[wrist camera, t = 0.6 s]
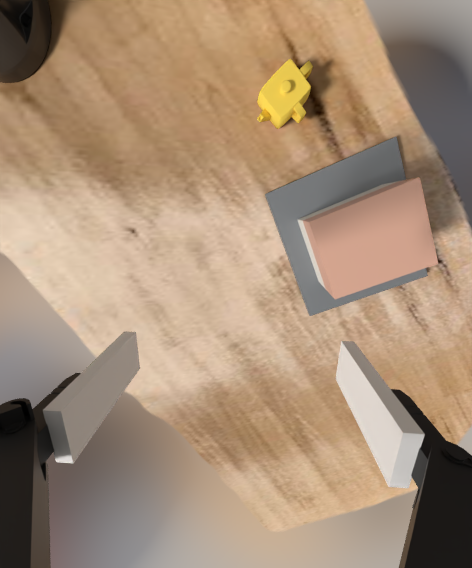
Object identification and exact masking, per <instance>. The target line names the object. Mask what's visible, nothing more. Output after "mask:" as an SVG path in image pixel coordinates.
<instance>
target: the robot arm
mask: <svg viewBox="0 0 472 568" xmlns="http://www.w3.org/2000/svg"><path fill="white" fill-rule="evenodd" d="M50 35H51V17H50V9H49V4H48V0H0V82H2V83H12V82H18V81H21V80H23V79H25V78H27V77H29V76H30V75H31V74H33V73H34V72H35V71H36V70H37V68H38V67H39V66H40V64H41V63H42V61H43V59H44V57H45V55H46V53H47V50H48V46H49V42H50ZM139 369H140V365H139V356H138V347H137V339H136V332H123V333H122V334H121V335H120V336H119V337H118V338H117V339H116V340H115V341H114V342H113V343H112V344H111V345H110V346H109V347H108V348H107V349H106V350H105V351H104V352H103V353H102V354H101V355H100V356H98V357H97V358H96V359H95V360H94V361H93V362H92V363H91V364H90V365H89V366H88V367H87V368H86V369H85V370H84V371H83V372H82V373H75V374H74V375H72V376H70V377H69V378H67V379H65V380H64V381H63V382H62V383H61V384H60V385H59V386H58V387H57V388H55V389H54V390H53V391H52V392H51V394H49V395H48V396H47V397H46V398H44V399H43V400H42V401H41V402H40V403H39V404H38V405H37V406H36V407H35V408H33V409H32V407H31V403H30V401H29V400H28V399H25V398H23V399H15V400H11V401H8V402H6V403H4V404H2V405H0V568H51V567H50V530H49V529H50V527H49V488H48V464H47V461H46V460H47V459H48V458H49V456H50V455H51V454H52V453H53V452H54V455H55V459H56V462H63V463H74V461H75V460H76V459H77V457H78V456H79V454H80V453H81V452H82V450H83V449H84V447H85V446H86V444H87V443H88V442H89V440H90V439H91V437H92V436H93V435H94V433H95V432H96V430H97V429H98V427H99V426H100V424H101V423H102V422H103V420H104V419H105V417H106V416H107V415H108V413H109V412H110V410H111V409H112V407H113V406H114V405H115V403H116V402H117V400H118V399H119V397H120V396H121V395H122V393H123V392H124V390H125V389H126V387H127V386H128V385H129V383H130V382H131V380H132V379H133V378H134V376H135V375H136V373H137V372H138V370H139ZM336 380H337V382H338V384H339V386H340V388H341V391H342V393H343V395H344V397H345V399H346V401H347V403H348V405H349V407H350V409H351V411H352V413H353V415H354V417H355V419H356V421H357V423H358V425H359V427H360V429H361V431H362V433H363V435H364V437H365V439H366V441H367V444H368V446H369V448H370V450H371V452H372V454H373V456H374V458H375V460H376V462H377V464H378V466H379V468H380V470H381V472H382V474H383V476H384V478H385V480H386V482H387V484H388V486H389V487H398V488H409V485H410V482H411V478H413V480H414V481H415V483H416V485H417V486H418V491H417V494H416V497H415V501H414V504H413V507H412V508H413V511H412V515H411V519H410V524H409V528H408V532H407V537H406V540H405V544H404V548H403V552H402V557H401V561H400V565H399V568H472V456H471V455H470V454H469V453H468V452H467V451H465V450H464V449H463V448H461V447H459V446H458V445H456V444H453V443H451V442H448V441H446V440H445V439H444V437H443V436H442V435H441V434H440V433H439V431H438V430H437V429H436V428H435V427H434V426H433V424H432V423H431V422H430V421H429V420H428V418H427V417H426V416H425V415H423V412H422V411H421V410H420V409H419V408H418V407H417V405H416V404H415V403H414V402H413V400H412V399H411V398H410V397H409V396H407V395H406V394H405V393H403V392H402V391H401V390H395V389H390V388H389V387H388V385H387V384H386V383H385V382H384V380H383V379H382V378H381V376H380V375H379V374H378V372H377V371H376V370H375V368H374V367H373V366H372V364H371V363H370V362H369V361H368V359H367V358H366V357H365V355H364V354H363V353H362V351H361V350H360V349H359V347H358V346H357V345H356V344H355V342H351V341H341V347H340V354H339V360H338V366H337V373H336Z"/></svg>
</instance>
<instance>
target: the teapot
mask: <svg viewBox="0 0 472 568" xmlns="http://www.w3.org/2000/svg"><path fill="white" fill-rule="evenodd" d="M312 68H313V66H312V64H311V63H310V62H309V61H308V62H307V63H306V64H305V65H304V66H303V67H301V68H300V69H298V68H297V66H296V65H295V64H294V62H293V61H292V60H291V59H289V60H288V61H287V62H286V63H285V64H284V65H283V66H282V67H281V68H280V69H279V70H278V71H277V72H276V73H275V74H274V75H273V76H272V77H271V78H270V79H269V81H268V82H267V83H266V84H265V85H264V86H263V88H262V89H261V91H260V93H259V96H258V105H259V107H260V108H261V110H262V112H261V114H260V115H259V117H258V118H257V119H258V120H259V122H263V121H268V120H270V121H271V122H272V124H273V125H274V126H275V127H276V128H277V129H279V128H280V127H281V126H283V125H284V124H285V123H286V122H287V121H288V120H289V119H290V118H291V117H292V118H293V119H294V120H295V121H296V122H297V123H299V122H301V121H302V120H303V119H304V116H305V114H306V111H305V110H304V108H303V107H302V105H303V104H304V103H305V102H306V100H307V99H308V96H309V94H310V90H311V86H310V84H309V83H308V81H307V80H306V79H307V78H308V76H309V75H310V73H311V71H312Z"/></svg>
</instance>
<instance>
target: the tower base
mask: <svg viewBox="0 0 472 568" xmlns="http://www.w3.org/2000/svg"><path fill="white" fill-rule="evenodd" d="M265 196H266V199H267V202H268V204H269V207H270V210H271V213H272V215H273V218H274V221H275V223H276V226H277V229H278V232H279V234H280V237H281V240H282V243H283V245H284V248H285V251H286V253H287V256H288V259H289V262H290V264H291V267H292V270H293V273H294V275H295V278H296V281H297V283H298V286H299V289H300V292H301V294H302V297H303V300H304V303H305V305H306V308H307V311H308V313H309V315H310V316H312V315H315V314H317V313H320V312H323V311H326V310H329V309H332V308H335V307H338V306H341V305H344V304H347V303H350V302H352V301H355V300H358V299H361V298H364V297H367V296H370V295H373V294H376V293H379V292H382V291H385V290H388V289H390V288H393V287H396V286H399V285H402V284H405V283H408V282H411V281H414V280H417V279H420V278H423V277H426V276H428V275H427V271H426V268H427V267H430V266H433V265H436V264H438V260H437V256H436V251H435V246H434V241H433V237H432V232H431V227H430V222H429V218H428V213H427V208H426V203H425V199H424V194H423V189H422V185H421V180H420V177H418V178H413V179H407V180H406V177H405V173H404V168H403V164H402V160H401V155H400V151H399V146H398V142H397V137H394V138H392V139H389V140H387V141H385V142H383V143H380V144H378V145H376V146H374V147H371V148H369V149H367V150H365V151H362V152H360V153H358V154H355V155H353V156H351V157H349V158H346V159H344V160H342V161H340V162H337V163H335V164H333V165H330V166H328V167H326V168H324V169H321V170H319V171H317V172H315V173H312V174H310V175H308V176H306V177H303V178H301V179H299V180H296V181H294V182H292V183H290V184H287V185H285V186H283V187H281V188H278V189H276V190H274V191H271V192H269V193H267V194H265Z"/></svg>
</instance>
